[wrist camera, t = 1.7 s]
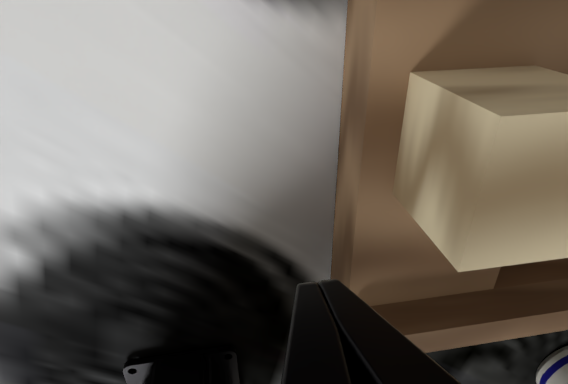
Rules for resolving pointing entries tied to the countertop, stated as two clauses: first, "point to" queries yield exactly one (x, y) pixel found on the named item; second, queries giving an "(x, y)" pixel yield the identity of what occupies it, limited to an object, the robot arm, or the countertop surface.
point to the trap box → (383, 160)
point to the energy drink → (554, 368)
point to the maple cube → (487, 164)
